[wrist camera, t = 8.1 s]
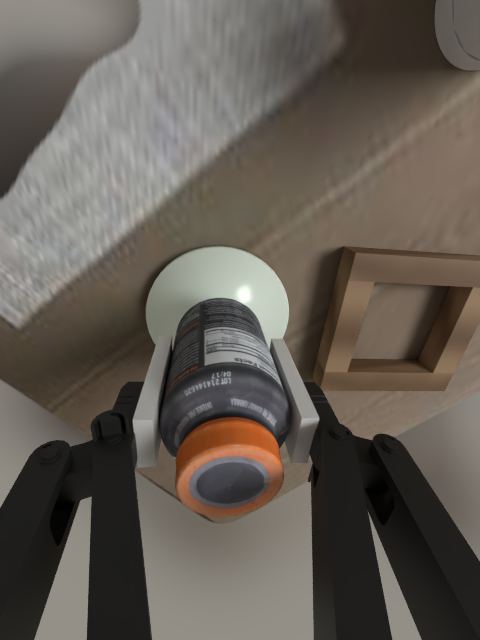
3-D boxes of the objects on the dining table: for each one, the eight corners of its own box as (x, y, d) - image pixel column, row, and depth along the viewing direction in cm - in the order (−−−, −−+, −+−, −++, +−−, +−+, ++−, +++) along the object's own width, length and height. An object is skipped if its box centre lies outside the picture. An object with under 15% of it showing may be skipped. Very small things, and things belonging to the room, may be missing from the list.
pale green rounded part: (143, 240, 20) (140, 242, 19) (297, 250, 21) (300, 252, 20) (151, 370, 25) (149, 375, 24) (276, 371, 26) (278, 377, 25)
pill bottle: (205, 380, 22) (201, 553, 12) (159, 321, 19) (105, 477, 9) (274, 345, 21) (334, 499, 11) (236, 279, 19) (268, 400, 9)
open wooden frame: (343, 246, 21) (355, 252, 20) (486, 256, 23) (509, 262, 21) (312, 376, 27) (319, 390, 25) (429, 377, 28) (444, 391, 26)
